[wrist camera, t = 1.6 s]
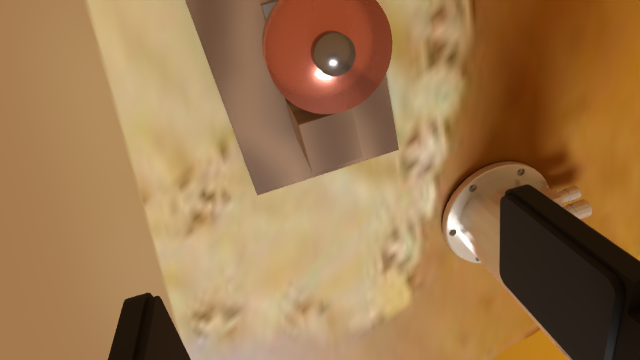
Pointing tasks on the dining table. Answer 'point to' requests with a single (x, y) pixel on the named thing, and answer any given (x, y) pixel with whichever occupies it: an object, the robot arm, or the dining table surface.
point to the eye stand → (282, 104)
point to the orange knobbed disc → (327, 52)
